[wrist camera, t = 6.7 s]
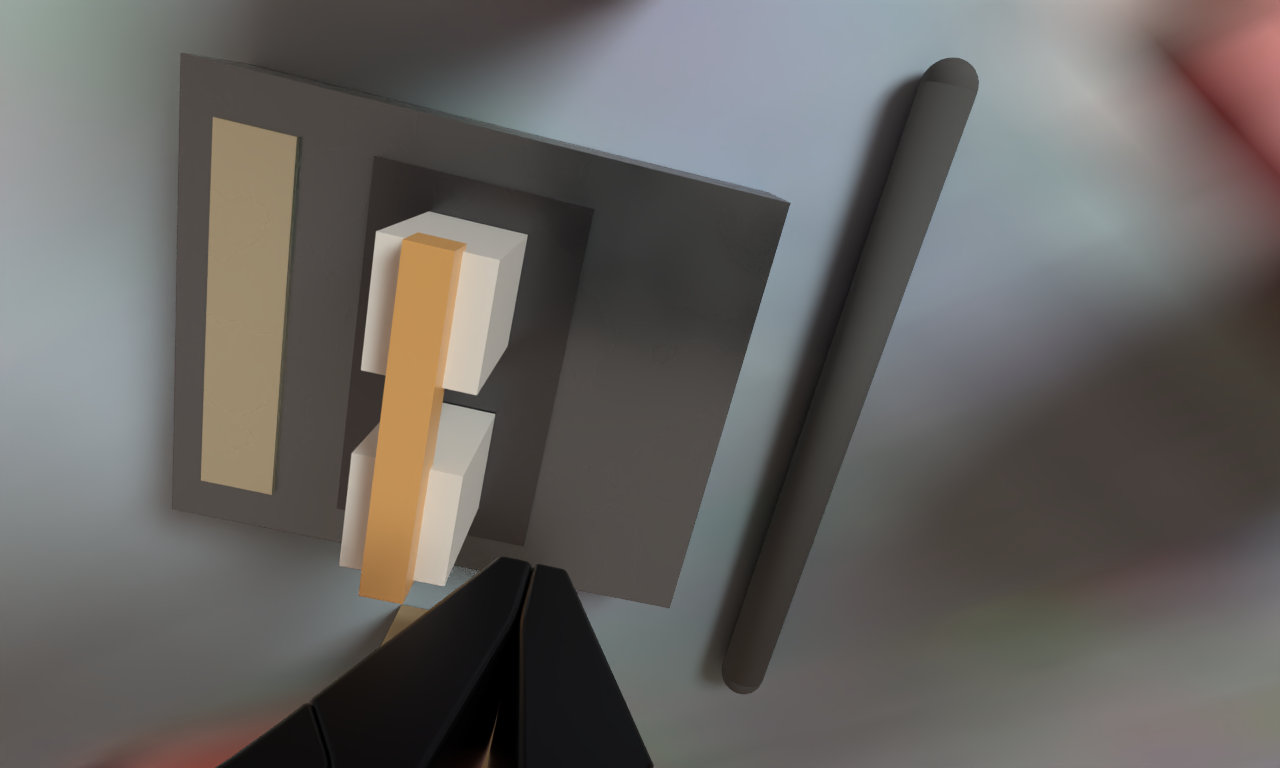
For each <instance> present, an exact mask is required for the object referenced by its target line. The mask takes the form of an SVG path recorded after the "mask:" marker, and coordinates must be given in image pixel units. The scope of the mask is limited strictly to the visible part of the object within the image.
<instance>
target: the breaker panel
mask: <svg viewBox="0 0 1280 768" xmlns="http://www.w3.org/2000/svg"><path fill="white" fill-rule="evenodd" d="M789 206H790V203H789V202H787V201H785V200H783V199H781V198H779V197H777V196H775V195H773V194H771V193H768V192H764V191H760V190H756V189H752V188H748V187H744V186H740V185H736V184H732V183H727V182H723V181H719V180H715V179H711V178H707V177H703V176H699V175H695V174H691V173H687V172H683V171H679V170H675V169H671V168H667V167H663V166H659V165H655V164H651V163H647V162H642V161H638V160H634V159H630V158H626V157H622V156H618V155H614V154H610V153H606V152H602V151H598V150H594V149H590V148H586V147H582V146H578V145H574V144H570V143H566V142H561V141H557V140H553V139H549V138H545V137H541V136H537V135H533V134H529V133H525V132H521V131H517V130H513V129H509V128H505V127H501V126H497V125H493V124H489V123H485V122H481V121H476V120H472V119H468V118H464V117H460V116H456V115H452V114H448V113H444V112H440V111H436V110H432V109H428V108H424V107H420V106H416V105H412V104H408V103H404V102H400V101H396V100H391V99H387V98H383V97H379V96H375V95H371V94H367V93H363V92H359V91H355V90H351V89H347V88H343V87H339V86H335V85H331V84H327V83H323V82H319V81H315V80H310V79H306V78H302V77H298V76H294V75H290V74H286V73H282V72H278V71H274V70H270V69H266V68H262V67H258V66H254V65H250V64H244V63H238V62H232V61H226V60H220V59H214V58H209V57H203V56H197V55H191V54H185V53H181V65H180V120H179V174H178V229H177V284H176V338H175V393H174V448H173V502H172V509H175V510H180V511H185V512H190V513H195V514H200V515H205V516H210V517H215V518H220V519H225V520H230V521H235V522H240V523H245V524H250V525H255V526H260V527H265V528H270V529H275V530H280V531H285V532H290V533H295V534H300V535H305V536H310V537H315V538H320V539H325V540H330V541H335V542H340V543H342V536H343V527H344V518H345V509H346V500H347V491H348V482H349V473H350V464H351V454H352V452H353V451H354V450H355V449H356V448H357V447H358V446H359V444H360V443H361V442H362V441H363V440H364V439H365V438H366V437H367V436H368V434H369V433H370V432H371V431H372V430H373V429H374V428H375V427H376V426H377V424H378V423H379V422H380V418H381V410H382V402H383V394H384V385H385V377H386V376H385V375H381V374H376V373H372V372H367V371H362V370H361V364H362V355H363V346H364V337H365V328H366V318H367V309H368V300H369V291H370V282H371V273H372V264H373V255H374V246H375V237H376V231H378V230H381V229H384V228H386V227H389V226H392V225H394V224H397V223H400V222H402V221H405V220H408V219H410V218H413V217H415V216H418V215H421V214H423V213H426V212H429V211H430V212H434V213H438V214H442V215H446V216H451V217H455V218H459V219H463V220H468V221H472V222H476V223H480V224H485V225H489V226H493V227H497V228H501V229H506V230H510V231H514V232H518V233H523V234H527V235H528V237H527V242H526V248H525V253H524V259H523V264H522V270H521V275H520V281H519V286H518V292H517V298H516V303H515V309H514V314H513V320H512V325H511V331H510V336H509V342H508V346H507V348H506V350H505V351H504V353H503V354H502V356H501V358H500V359H499V361H498V362H497V364H496V366H495V367H494V369H493V370H492V372H491V374H490V375H489V377H488V378H487V380H486V382H485V383H484V385H483V386H482V388H481V390H480V391H479V393H478V394H477V395H472V394H468V393H463V392H459V391H454V390H449V389H445V390H444V396H443V403H446V404H451V405H455V406H460V407H465V408H469V409H474V410H479V411H483V412H488V413H492V414H495V419H494V425H493V430H492V436H491V441H490V447H489V452H488V458H487V463H486V469H485V474H484V480H483V485H482V491H481V497H480V502H479V508H478V510H477V513H476V515H475V517H474V519H473V522H472V524H471V526H470V529H469V531H468V533H467V536H466V538H465V540H464V542H463V545H462V547H461V549H460V552H459V554H458V556H457V559H456V561H455V563H454V565H455V566H460V567H465V568H470V569H475V570H480V571H481V570H483V569H484V568H485V567H486V566H488V565H489V564H490V563H492V562H493V561H494V560H496V559H497V558H499V557H502V556H503V557H509V558H513V559H518V560H523V561H527V562H529V563H530V564H531V565H532V568H533V567H534V566H535V565H537V564H542V565H547V566H552V567H557V568H561V569H564V570H566V571H567V573H568V575H569V577H570V579H571V582H572V584H573V586H574V588H575V589H576V590H581V591H586V592H591V593H596V594H601V595H606V596H611V597H616V598H621V599H626V600H631V601H636V602H641V603H646V604H651V605H656V606H661V607H666V608H670V605H671V601H672V598H673V595H674V591H675V588H676V585H677V581H678V578H679V575H680V571H681V568H682V565H683V561H684V558H685V554H686V551H687V548H688V544H689V541H690V538H691V534H692V531H693V528H694V524H695V521H696V518H697V514H698V511H699V508H700V504H701V501H702V497H703V494H704V491H705V487H706V484H707V481H708V477H709V474H710V471H711V467H712V464H713V461H714V457H715V454H716V451H717V447H718V444H719V440H720V437H721V434H722V430H723V427H724V424H725V420H726V417H727V414H728V410H729V407H730V404H731V400H732V397H733V394H734V390H735V387H736V383H737V380H738V377H739V373H740V370H741V367H742V363H743V360H744V357H745V353H746V350H747V347H748V343H749V340H750V337H751V333H752V330H753V326H754V323H755V320H756V316H757V313H758V310H759V306H760V303H761V300H762V296H763V293H764V290H765V286H766V283H767V280H768V276H769V273H770V270H771V266H772V263H773V259H774V256H775V253H776V249H777V246H778V243H779V239H780V236H781V233H782V229H783V226H784V223H785V219H786V216H787V213H788V209H789Z"/></svg>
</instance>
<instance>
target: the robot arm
mask: <svg viewBox="0 0 1280 768" xmlns="http://www.w3.org/2000/svg"><path fill="white" fill-rule="evenodd" d="M496 718H497V719H496ZM495 722H496V723H495ZM494 726H495V728H494ZM493 730H494V733H493ZM492 734H493V737H492ZM491 737H492V742H491V746H490V751H489V758H488V765H487V768H654V766H653V763H652V761H651V758H650V756H649V754H648V752H647V749H646V747H645V745H644V743H643V740H642V738H641V736H640V734H639V731H638V729H637V727H636V725H635V722H634V720H633V718H632V716H631V714H630V711H629V709H628V707H627V705H626V702H625V700H624V698H623V696H622V693H621V691H620V689H619V687H618V684H617V682H616V680H615V678H614V675H613V673H612V671H611V669H610V667H609V664H608V662H607V660H606V658H605V655H604V653H603V651H602V649H601V646H600V644H599V642H598V640H597V637H596V635H595V633H594V631H593V629H592V626H591V624H590V622H589V620H588V617H587V615H586V613H585V611H584V608H583V606H582V604H581V602H580V599H579V597H578V595H577V593H576V590H575V588H574V586H573V584H572V582H571V579H570V577H569V575H568V573H567V571H566V570H564V569H561V568H557V567H552V566H547V565H542V564H537V565H535V566H534V567H533V568H532V565H531V564H530V563H529V562H527V561H523V560H518V559H513V558H509V557H503V556H502V557H499V558H497V559H496V560H494V561H493V562H492V563H490V564H489V565H488V566H486V567H485V568H484V569H483V570H481V571H480V572H479V573H477V574H476V575H475V576H473V577H472V578H471V579H469V580H468V581H467V582H465V583H464V584H463V585H461V586H460V587H459V588H457V589H456V590H455V591H453V592H452V593H451V594H449V595H448V596H447V597H446V598H444V599H443V600H442V601H440V602H439V603H438V604H436V605H435V606H434V607H432V608H431V609H430V610H428V611H427V612H426V613H424V614H423V615H422V616H420V617H419V618H418V619H416V620H415V621H414V622H413V623H411V624H410V625H409V626H407V627H406V628H405V629H403V630H402V631H401V632H399V633H398V634H397V635H395V636H394V637H393V638H391V639H390V640H389V641H387V642H386V643H385V644H383V645H382V646H381V647H379V648H378V649H377V650H376V651H374V652H373V653H372V654H370V655H369V656H368V657H366V658H365V659H364V660H362V661H361V662H360V663H358V664H357V665H356V666H354V667H353V668H352V669H350V670H349V671H348V672H346V673H345V674H344V675H343V676H341V677H340V678H339V679H337V680H336V681H335V682H333V683H332V684H331V685H329V686H328V687H327V688H325V689H324V690H323V691H321V692H320V693H319V694H317V695H316V696H315V697H313V698H312V699H311V701H310V704H309V703H306V704H304V705H302V706H301V707H300V708H298V709H297V710H296V711H294V712H293V713H292V714H290V715H289V716H288V717H287V718H285V719H284V720H283V721H281V722H280V723H279V724H277V725H276V726H274V727H273V728H272V729H270V730H269V731H267V732H266V733H265V734H263V735H262V736H260V737H259V738H258V739H256V740H255V741H253V742H252V743H251V744H249V745H248V746H246V747H245V748H244V749H242V750H241V751H239V752H238V753H237V754H235V755H234V756H232V757H231V758H230V759H228V760H226V761H225V762H223V763H222V764H220V765H219V766H217V767H216V768H482V766H483V763H484V760H485V757H486V754H487V751H488V748H489V744H490V741H491Z"/></svg>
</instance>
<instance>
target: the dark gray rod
mask: <svg viewBox="0 0 1280 768" xmlns="http://www.w3.org/2000/svg"><path fill="white" fill-rule="evenodd" d="M978 85H979V81H978V76H977V73H976V71H975V69H974V68H973V66H972V65H971V64H969V63H968V62H967V61H965V60H963V59H960V58H946V59H943V60H940V61H938V62H936V63H935V64H933V65H932V66H930V67H929V69H928V70H927V71H926V72H925V73H924V75H923V76H922V78H921V81H920V83H919V86H918V89H917V92H916V95H915V98H914V101H913V104H912V107H911V110H910V113H909V116H908V119H907V121H906V124H905V127H904V130H903V133H902V136H901V139H900V142H899V145H898V148H897V151H896V154H895V157H894V160H893V163H892V166H891V169H890V172H889V175H888V178H887V181H886V183H885V186H884V189H883V192H882V195H881V198H880V201H879V204H878V207H877V210H876V213H875V216H874V219H873V222H872V225H871V228H870V231H869V234H868V237H867V240H866V242H865V245H864V248H863V251H862V254H861V257H860V260H859V263H858V266H857V269H856V272H855V275H854V278H853V281H852V284H851V287H850V290H849V293H848V296H847V299H846V302H845V304H844V307H843V310H842V313H841V316H840V319H839V322H838V325H837V328H836V331H835V334H834V337H833V340H832V343H831V346H830V349H829V352H828V355H827V358H826V361H825V364H824V366H823V369H822V372H821V375H820V378H819V381H818V384H817V387H816V390H815V393H814V396H813V399H812V402H811V405H810V408H809V411H808V414H807V417H806V420H805V423H804V426H803V428H802V431H801V434H800V437H799V440H798V443H797V446H796V449H795V452H794V455H793V458H792V461H791V464H790V467H789V470H788V473H787V476H786V479H785V482H784V485H783V487H782V490H781V493H780V496H779V499H778V502H777V505H776V508H775V511H774V514H773V517H772V520H771V523H770V526H769V529H768V532H767V535H766V538H765V541H764V544H763V547H762V549H761V552H760V555H759V558H758V561H757V564H756V567H755V570H754V573H753V576H752V579H751V582H750V585H749V588H748V591H747V594H746V597H745V600H744V603H743V606H742V609H741V611H740V614H739V617H738V620H737V623H736V626H735V629H734V632H733V635H732V638H731V641H730V644H729V647H728V650H727V653H726V656H725V659H724V662H723V665H722V676H723V680H724V682H725V683H726V685H727V686H728V687H729V688H730V689H731V690H732V691H734V692H736V693H739V694H748V693H752V692H753V691H755V690H756V689H757V688H758V687H759V686H760V684H761V683H762V681H763V678H764V675H765V672H766V670H767V667H768V664H769V661H770V659H771V656H772V653H773V650H774V648H775V645H776V642H777V639H778V637H779V634H780V631H781V629H782V626H783V623H784V620H785V618H786V615H787V612H788V609H789V607H790V604H791V601H792V598H793V596H794V593H795V590H796V587H797V585H798V582H799V579H800V577H801V574H802V571H803V568H804V566H805V563H806V560H807V557H808V555H809V552H810V549H811V546H812V544H813V541H814V538H815V535H816V533H817V530H818V527H819V524H820V522H821V519H822V516H823V514H824V511H825V508H826V505H827V503H828V500H829V497H830V494H831V492H832V489H833V486H834V483H835V481H836V478H837V475H838V472H839V470H840V467H841V464H842V462H843V459H844V456H845V453H846V451H847V448H848V445H849V442H850V440H851V437H852V434H853V431H854V429H855V426H856V423H857V420H858V418H859V415H860V412H861V410H862V407H863V404H864V401H865V399H866V396H867V393H868V390H869V388H870V385H871V382H872V379H873V377H874V374H875V371H876V368H877V366H878V363H879V360H880V358H881V355H882V352H883V349H884V347H885V344H886V341H887V338H888V336H889V333H890V330H891V327H892V325H893V322H894V319H895V316H896V314H897V311H898V308H899V306H900V303H901V300H902V297H903V295H904V292H905V289H906V286H907V284H908V281H909V278H910V275H911V273H912V270H913V267H914V264H915V262H916V259H917V256H918V254H919V251H920V248H921V245H922V243H923V240H924V237H925V234H926V232H927V229H928V226H929V223H930V221H931V218H932V215H933V212H934V210H935V207H936V204H937V202H938V199H939V196H940V193H941V191H942V188H943V185H944V182H945V180H946V177H947V174H948V171H949V169H950V166H951V163H952V160H953V158H954V155H955V152H956V149H957V147H958V144H959V141H960V139H961V136H962V133H963V130H964V128H965V125H966V122H967V119H968V117H969V114H970V111H971V108H972V106H973V103H974V100H975V97H976V95H977V91H978Z"/></svg>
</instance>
